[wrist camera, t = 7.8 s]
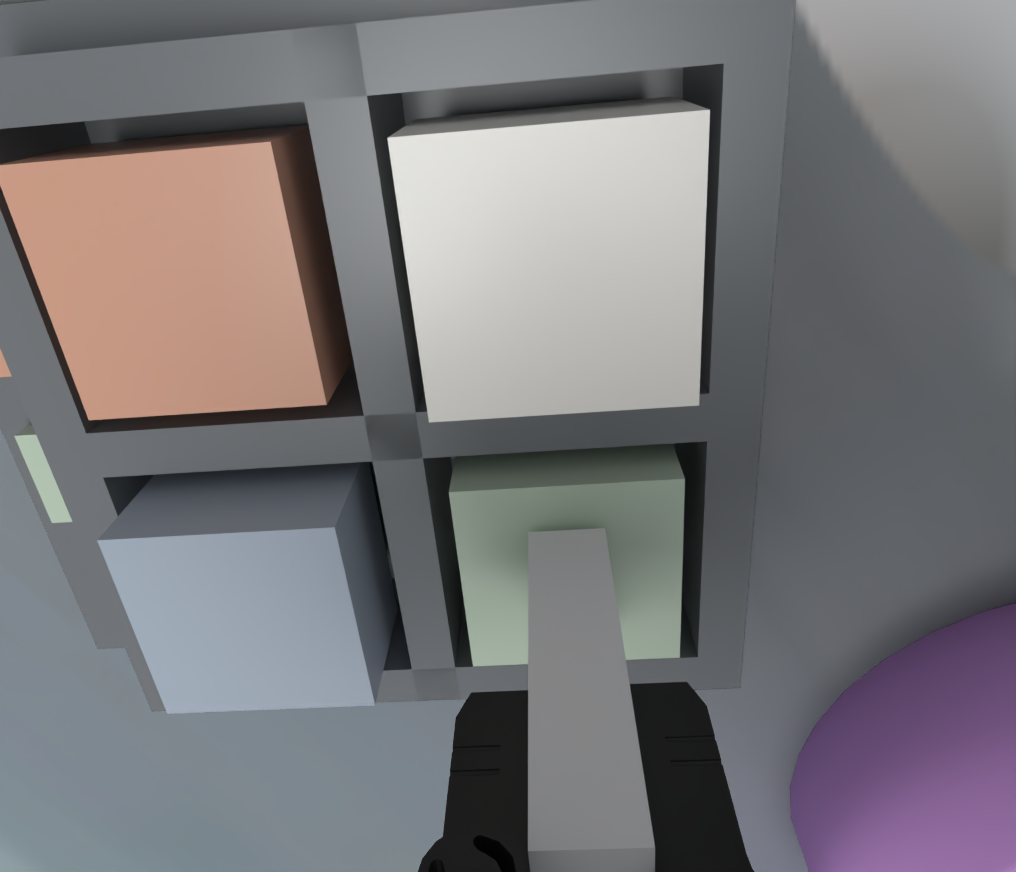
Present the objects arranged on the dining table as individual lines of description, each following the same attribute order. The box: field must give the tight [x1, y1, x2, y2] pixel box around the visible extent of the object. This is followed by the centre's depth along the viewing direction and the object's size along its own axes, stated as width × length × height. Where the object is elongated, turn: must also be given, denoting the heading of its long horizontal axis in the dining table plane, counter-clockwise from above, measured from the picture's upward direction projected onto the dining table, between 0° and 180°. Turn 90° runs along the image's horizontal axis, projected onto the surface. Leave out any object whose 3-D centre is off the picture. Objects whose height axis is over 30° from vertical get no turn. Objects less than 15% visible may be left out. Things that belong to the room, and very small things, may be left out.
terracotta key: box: [0, 125, 353, 420], centre depth 14 cm, size 4×4×3 cm
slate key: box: [97, 462, 397, 714], centre depth 16 cm, size 4×4×3 cm
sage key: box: [449, 444, 685, 666], centre depth 17 cm, size 4×4×3 cm
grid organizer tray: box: [0, 0, 796, 712], centre depth 16 cm, size 18×16×4 cm
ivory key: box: [387, 97, 710, 422], centre depth 13 cm, size 4×4×3 cm
